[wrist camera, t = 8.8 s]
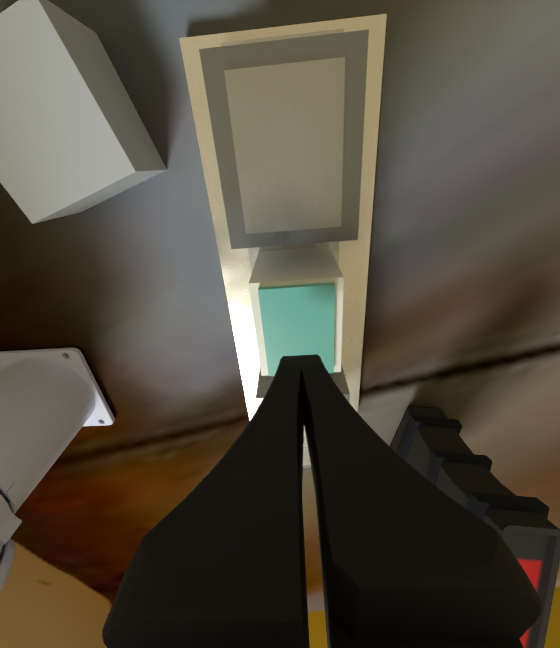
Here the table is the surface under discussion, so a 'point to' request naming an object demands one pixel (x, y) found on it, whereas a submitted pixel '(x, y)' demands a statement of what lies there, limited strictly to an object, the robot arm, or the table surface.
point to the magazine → (484, 500)
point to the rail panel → (290, 162)
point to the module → (297, 306)
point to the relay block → (64, 116)
